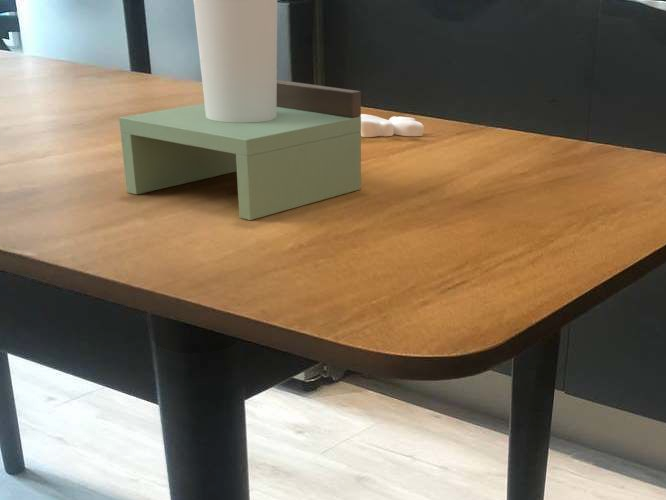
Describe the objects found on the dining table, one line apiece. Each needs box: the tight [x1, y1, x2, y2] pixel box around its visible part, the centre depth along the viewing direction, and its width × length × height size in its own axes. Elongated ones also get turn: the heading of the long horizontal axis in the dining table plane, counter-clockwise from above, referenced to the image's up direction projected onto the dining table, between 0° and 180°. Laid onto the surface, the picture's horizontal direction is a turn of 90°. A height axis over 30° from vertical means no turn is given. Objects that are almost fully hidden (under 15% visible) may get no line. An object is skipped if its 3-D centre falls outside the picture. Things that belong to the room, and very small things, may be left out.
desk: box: [118, 79, 362, 221], centre depth 90 cm, size 14×14×8 cm
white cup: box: [192, 0, 278, 123], centre depth 87 cm, size 7×7×10 cm
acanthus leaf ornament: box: [360, 113, 425, 138], centre depth 117 cm, size 8×7×2 cm
